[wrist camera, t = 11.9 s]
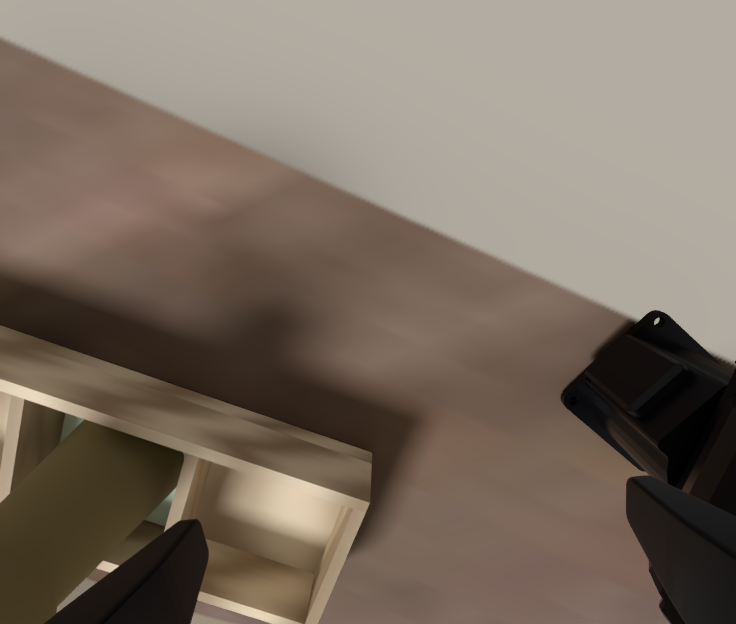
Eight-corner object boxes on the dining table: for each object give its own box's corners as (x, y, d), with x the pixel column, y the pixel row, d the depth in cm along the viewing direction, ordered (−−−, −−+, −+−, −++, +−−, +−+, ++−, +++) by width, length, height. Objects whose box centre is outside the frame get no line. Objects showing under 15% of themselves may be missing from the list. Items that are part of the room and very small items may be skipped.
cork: (131, 522, 23) (-78, 787, 13) (50, 446, 22) (-250, 666, 12) (207, 466, 22) (47, 705, 12) (126, 384, 21) (-132, 565, 11)
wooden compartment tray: (372, 452, 23) (370, 502, 19) (323, 570, 25) (312, 636, 21) (-74, 300, 22) (-172, 321, 18) (-85, 437, 24) (-175, 482, 20)
